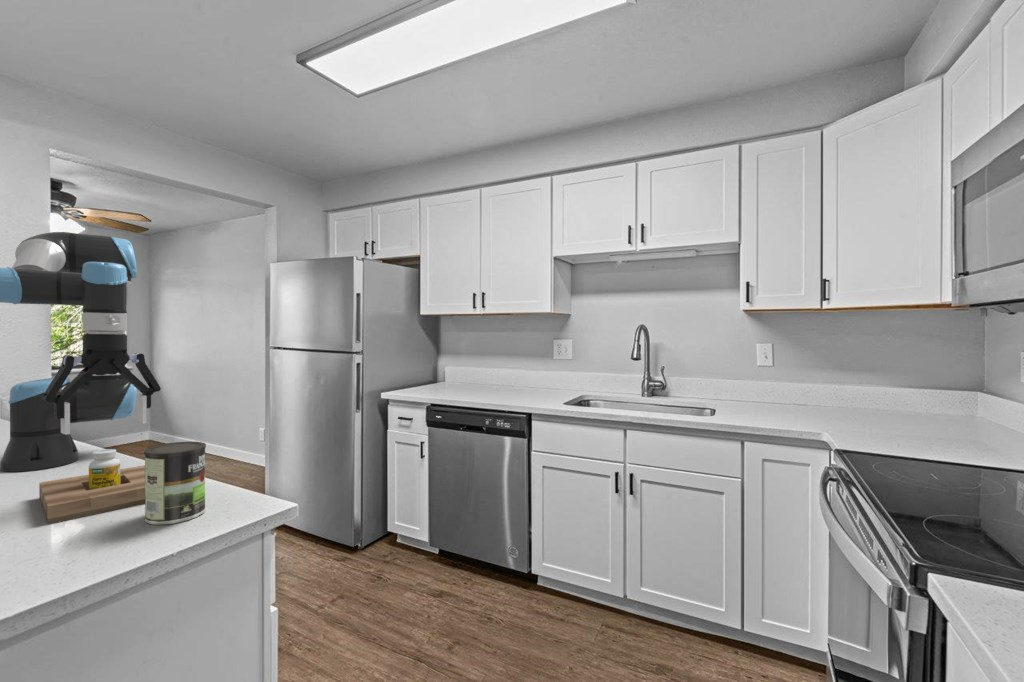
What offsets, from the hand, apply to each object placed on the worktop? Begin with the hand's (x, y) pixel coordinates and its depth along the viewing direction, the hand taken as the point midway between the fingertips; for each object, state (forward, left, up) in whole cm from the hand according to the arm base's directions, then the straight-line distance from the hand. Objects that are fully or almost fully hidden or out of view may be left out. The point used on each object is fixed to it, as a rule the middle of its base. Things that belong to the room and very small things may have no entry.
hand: (105, 427), depth 105 cm
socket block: (0, 0, -16) cm, 16 cm away
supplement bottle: (0, 0, -15) cm, 15 cm away
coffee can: (+4, +23, -16) cm, 28 cm away
